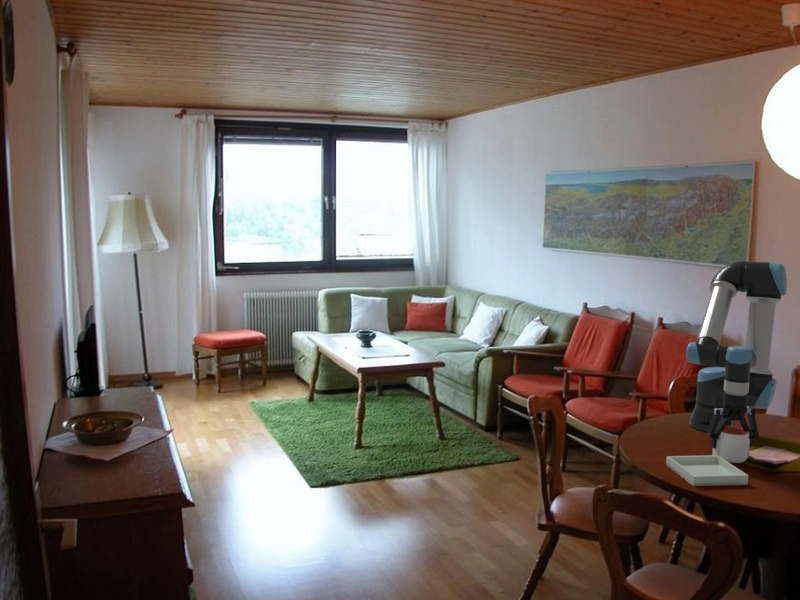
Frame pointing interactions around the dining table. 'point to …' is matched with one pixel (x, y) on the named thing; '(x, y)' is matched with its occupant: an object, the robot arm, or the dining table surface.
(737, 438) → the cup
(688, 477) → the tray
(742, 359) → the robot arm
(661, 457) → the dining table surface
